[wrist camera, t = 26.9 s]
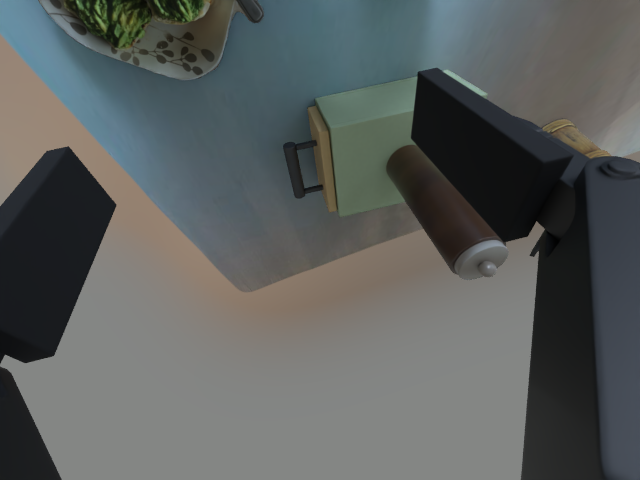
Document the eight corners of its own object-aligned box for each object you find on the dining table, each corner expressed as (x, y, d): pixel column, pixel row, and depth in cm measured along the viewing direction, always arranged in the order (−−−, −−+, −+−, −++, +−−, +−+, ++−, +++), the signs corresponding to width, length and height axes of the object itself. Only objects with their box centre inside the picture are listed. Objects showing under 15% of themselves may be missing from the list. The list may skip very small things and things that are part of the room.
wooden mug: (499, 142, 51) (585, 208, 39) (578, 110, 50) (693, 168, 37) (493, 181, 57) (565, 249, 45) (563, 154, 56) (657, 215, 44)
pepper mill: (386, 149, 36) (471, 264, 24) (427, 140, 37) (531, 248, 24) (385, 183, 40) (457, 298, 28) (421, 175, 40) (509, 284, 28)
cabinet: (325, 182, 49) (339, 217, 43) (314, 97, 39) (330, 128, 33) (432, 157, 50) (461, 188, 44) (447, 69, 40) (487, 93, 34)
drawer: (292, 190, 48) (300, 219, 43) (275, 114, 39) (281, 140, 34) (421, 160, 49) (443, 185, 44) (433, 79, 40) (462, 100, 35)
